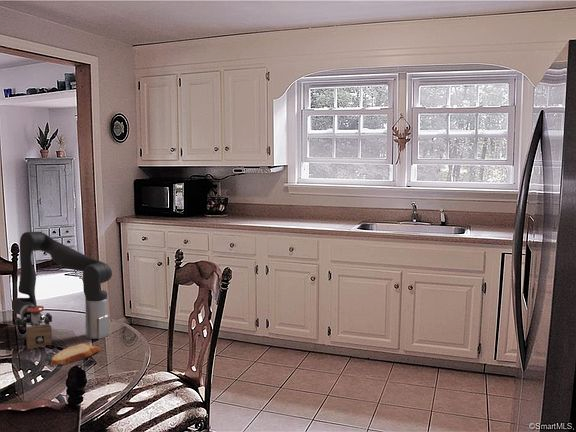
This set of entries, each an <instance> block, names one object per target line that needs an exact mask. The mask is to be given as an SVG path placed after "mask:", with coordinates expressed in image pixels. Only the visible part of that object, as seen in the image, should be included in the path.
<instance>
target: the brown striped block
mask: <svg viewBox="0 0 576 432" xmlns="http://www.w3.org/2000/svg"><path fill="white" fill-rule="evenodd" d="M25 335H26V336H25V339H26V341H25V342H26V344H25V345H26V348H27V350H28V351H30V350H34V349H33V348H36V349H38V348H37V347H41V346H45V345H53V344H52V343H53V342H52V341H53V340H52V338H53V337H52V326H51V324H50V323H49V324H45V323H43V324H40V325H37V326H31V325H29V326H26V328H25ZM38 336H41V337H42V339H43V342H42V343H39V342H38V341H37V340H36V337H38ZM29 349H30V350H29Z"/></svg>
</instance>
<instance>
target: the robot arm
mask: <svg viewBox="0 0 576 432" xmlns="http://www.w3.org/2000/svg"><path fill="white" fill-rule="evenodd" d="M37 251H38V252H40V251H41V252H43V253H45V254H46V253H47V254H49V255H50V257H51V260H52V261H53V262H54V263H55V264H57V265H59V266H60V267H63V268H65V269H68V270H73V271H80V272H82V286H83V293H84V296H85V307H84V308H85V309H84V310H85V338H87V339H92V340H96V339H97V340H101V339H103V338H105V337H106V338H107V337H108V336H110V332H109V331H110V316H109V315H110V314H108V293H107V291H106V290H103V289H101V288H100V284H103V283H106V282H108V281H109V280H110V279H111V278H112V276H113V273H112V272H113V271H112V269H111V266H109V264H108V263H106V262H103V261H101V260H97V259H94V258H92V257H90V256H87V255H86V254H83V253H81V252H80V251H77V250H76V249H74V248H72V247H70V246H68V245H66V244H63V243H61V242H59V241H57V240H55V239H54V238H52V237H50V236H49V235H48V234H47V233H44V232H43V231H26V232H24V233H22V234H21V236H20V240H19V262H20V275H19V282H18V293H20V294H23V295H26V296H28V297H17V298H15V299H14V300H12V303H11V309H12V311H13V313H15V314H17V315H19V316H20V317H19V316H16V317H15V326H16V327H20V326H21V327H22V328H24V329H26V327H27V326H28V325H29V326H31V313H29V312H27V308H28V307H31V306H38V305H37V299H36V283H37V282H36V281H37V273H36V270H35V268H34V266H33V265H34V264H33V263H32V253H33V252H37ZM52 322H53V315H51V314H50V312H47V313H46V314H42V312H40V324H50V323H52Z"/></svg>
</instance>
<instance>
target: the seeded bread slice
mask: <svg viewBox="0 0 576 432" xmlns="http://www.w3.org/2000/svg"><path fill="white" fill-rule="evenodd" d="M100 351H101V348H100V346H95V345H91V344H89V343H84V342H83V343H82V342H81V343H79V344H75V345H72V346H69V347H66V348H64V349H62V350H60V351H59V352H57V353H56V354H54V355H53V356H52V357H51V358H50V361H49V363H50V362H51V363H52V364H53V365H56V364H66V365H69V364H68V363H70V364H73V363H75V362H78V361H81V360H84V359H87V358H90V357H91V356H94V354H97V353H99V352H100Z"/></svg>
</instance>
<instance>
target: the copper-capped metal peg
mask: <svg viewBox="0 0 576 432" xmlns="http://www.w3.org/2000/svg"><path fill="white" fill-rule="evenodd" d="M43 311H45V309H44V306H43V305H37V306H31V307H28V308H27V312H29V313H31V325H30V326H37V325H41V323H40V313H42V312H43ZM36 340H37V341H38V342H39V343H42V342H43V339H42V336H38V337H36Z"/></svg>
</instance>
